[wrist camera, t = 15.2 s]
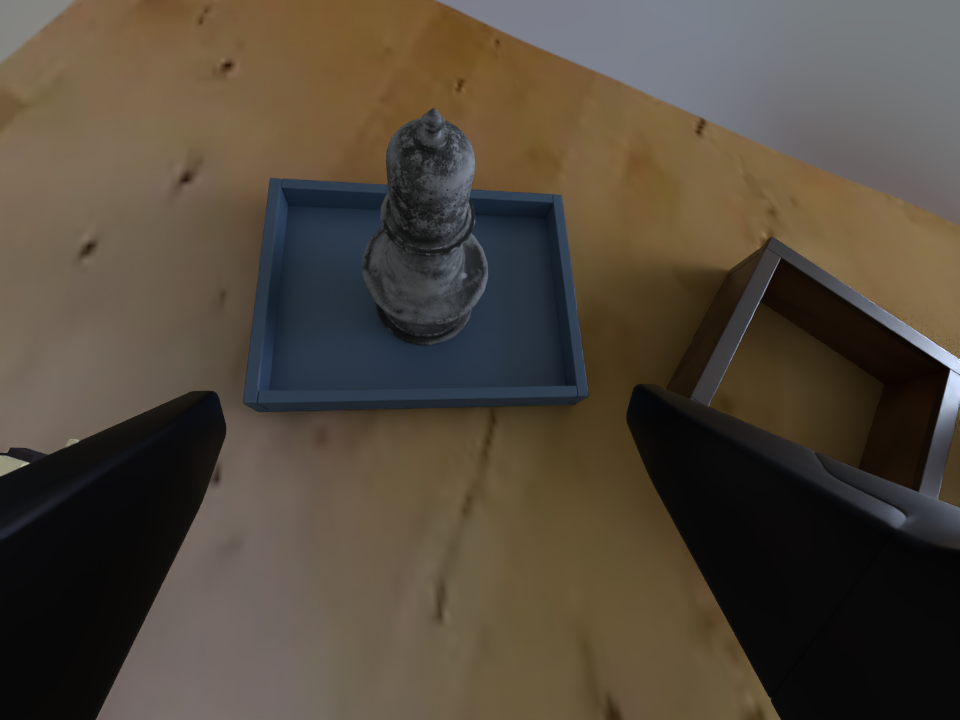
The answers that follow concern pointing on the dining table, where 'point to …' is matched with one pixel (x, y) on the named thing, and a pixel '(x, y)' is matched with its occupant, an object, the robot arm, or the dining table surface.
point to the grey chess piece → (426, 235)
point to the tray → (371, 346)
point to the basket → (856, 335)
